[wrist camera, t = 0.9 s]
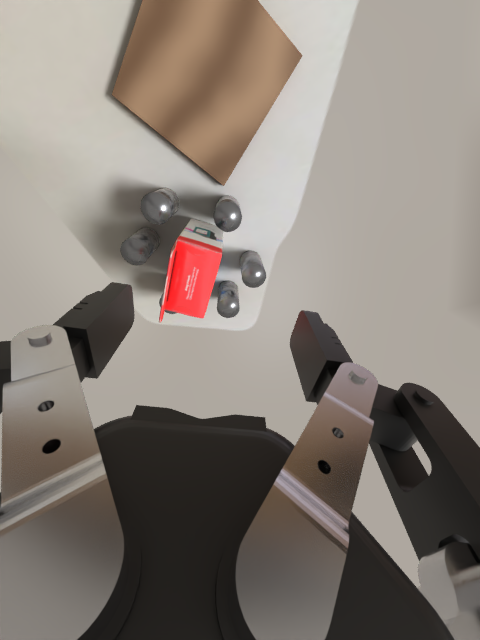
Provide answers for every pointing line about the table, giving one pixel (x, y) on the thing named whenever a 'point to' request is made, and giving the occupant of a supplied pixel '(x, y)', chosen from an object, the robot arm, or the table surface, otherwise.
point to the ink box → (192, 269)
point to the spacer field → (226, 218)
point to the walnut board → (205, 75)
